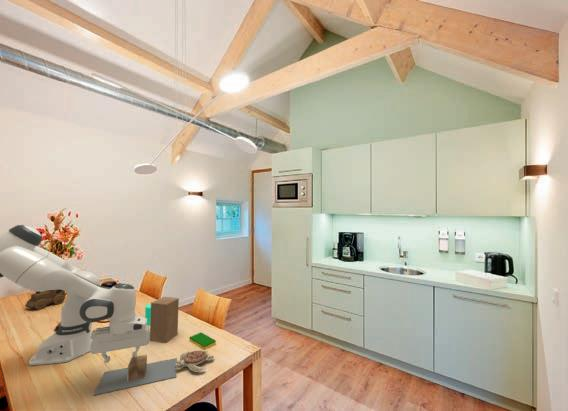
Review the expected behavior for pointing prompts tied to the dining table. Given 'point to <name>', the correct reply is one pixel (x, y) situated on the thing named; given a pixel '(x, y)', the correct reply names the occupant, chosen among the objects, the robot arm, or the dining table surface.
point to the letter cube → (137, 367)
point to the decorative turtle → (193, 360)
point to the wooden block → (164, 319)
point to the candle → (148, 313)
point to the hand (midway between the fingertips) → (121, 359)
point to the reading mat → (119, 379)
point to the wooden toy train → (45, 299)
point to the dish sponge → (202, 341)
